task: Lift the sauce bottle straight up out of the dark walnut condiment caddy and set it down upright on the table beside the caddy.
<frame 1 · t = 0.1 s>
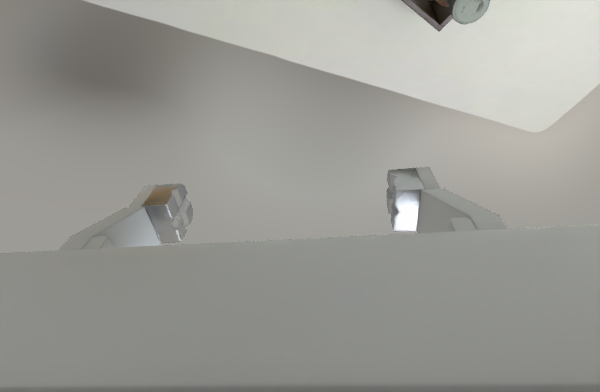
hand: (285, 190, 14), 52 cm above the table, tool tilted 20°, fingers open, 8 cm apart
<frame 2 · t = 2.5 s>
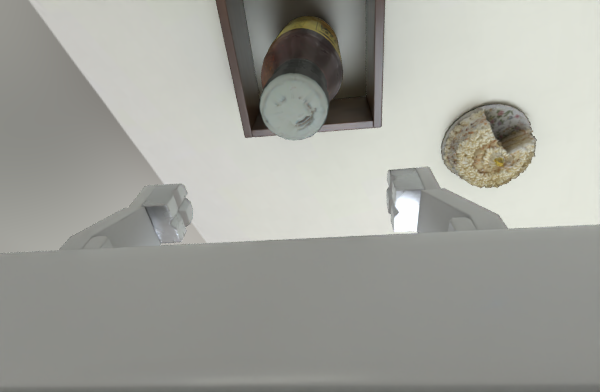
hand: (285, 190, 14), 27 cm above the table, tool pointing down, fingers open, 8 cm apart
cake: (483, 142, 42), on the table
sauce bottle: (307, 44, 37), resting in caddy
caddy: (307, 44, 36), on the table
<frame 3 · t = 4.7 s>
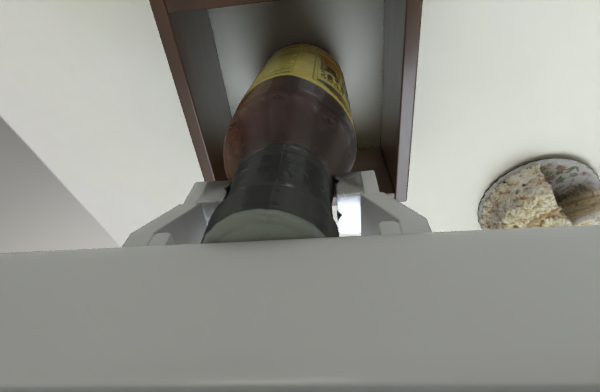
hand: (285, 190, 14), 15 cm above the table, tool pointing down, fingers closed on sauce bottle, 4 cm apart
cake: (534, 202, 32), on the table
sauce bottle: (302, 79, 27), resting in caddy, touching gripper
caddy: (302, 80, 26), on the table
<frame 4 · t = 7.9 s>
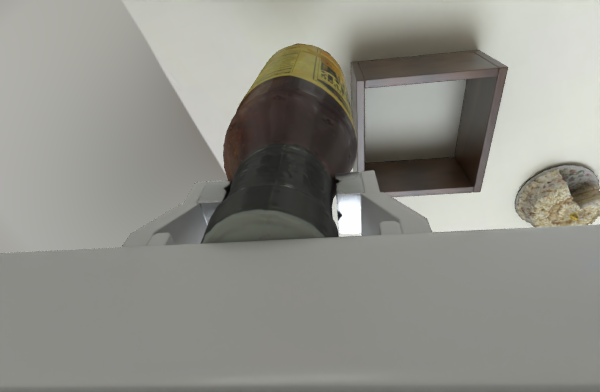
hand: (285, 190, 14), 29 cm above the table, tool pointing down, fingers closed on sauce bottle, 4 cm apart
cake: (553, 194, 47), on the table
sauce bottle: (302, 80, 27), point 13 cm above the table, touching gripper
caddy: (409, 115, 41), on the table
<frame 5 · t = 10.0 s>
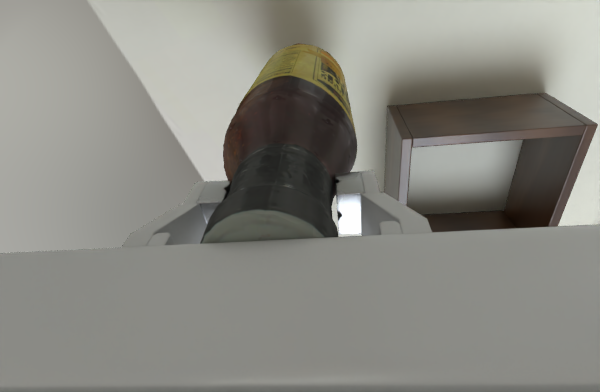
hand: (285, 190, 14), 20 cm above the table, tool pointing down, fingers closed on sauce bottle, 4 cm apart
sauce bottle: (302, 80, 27), point 4 cm above the table, touching gripper
caddy: (454, 165, 35), on the table
when the fingers open (15 cm above the table, at t = 11.5 s): sauce bottle stays where it is, on the table.
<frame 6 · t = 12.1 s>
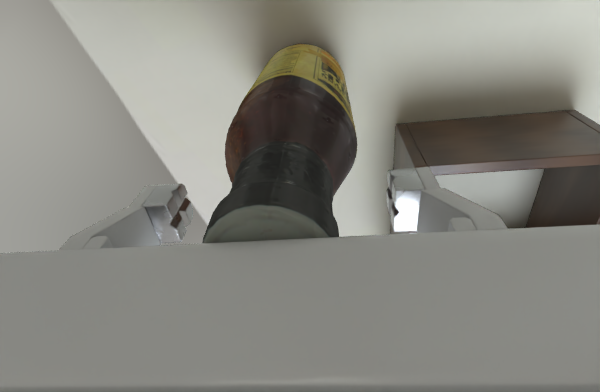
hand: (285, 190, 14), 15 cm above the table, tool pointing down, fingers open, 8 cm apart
sauce bottle: (303, 79, 27), on the table
caddy: (468, 188, 31), on the table
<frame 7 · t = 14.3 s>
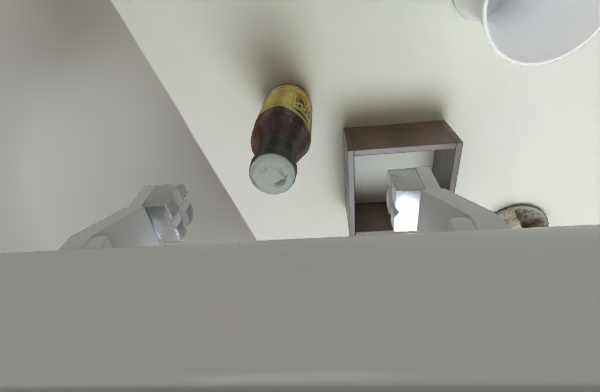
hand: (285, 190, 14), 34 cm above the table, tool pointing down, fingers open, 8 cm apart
cake: (512, 228, 57), on the table
sauce bottle: (288, 102, 46), on the table
caddy: (391, 167, 51), on the table
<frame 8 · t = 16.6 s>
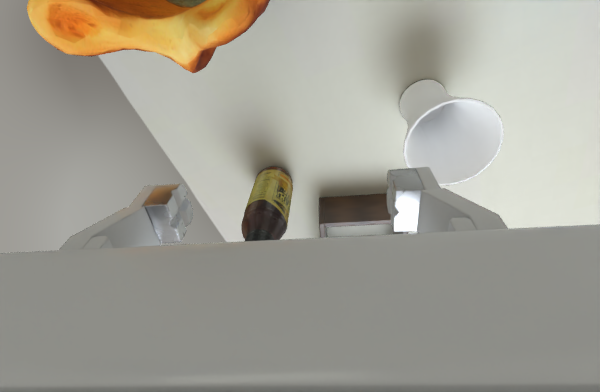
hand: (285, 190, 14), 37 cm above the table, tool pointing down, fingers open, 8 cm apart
sauce bottle: (274, 179, 58), on the table
caddy: (360, 226, 62), on the table
cup: (422, 102, 49), on the table
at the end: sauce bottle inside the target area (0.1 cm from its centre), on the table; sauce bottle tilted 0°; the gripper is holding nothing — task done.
